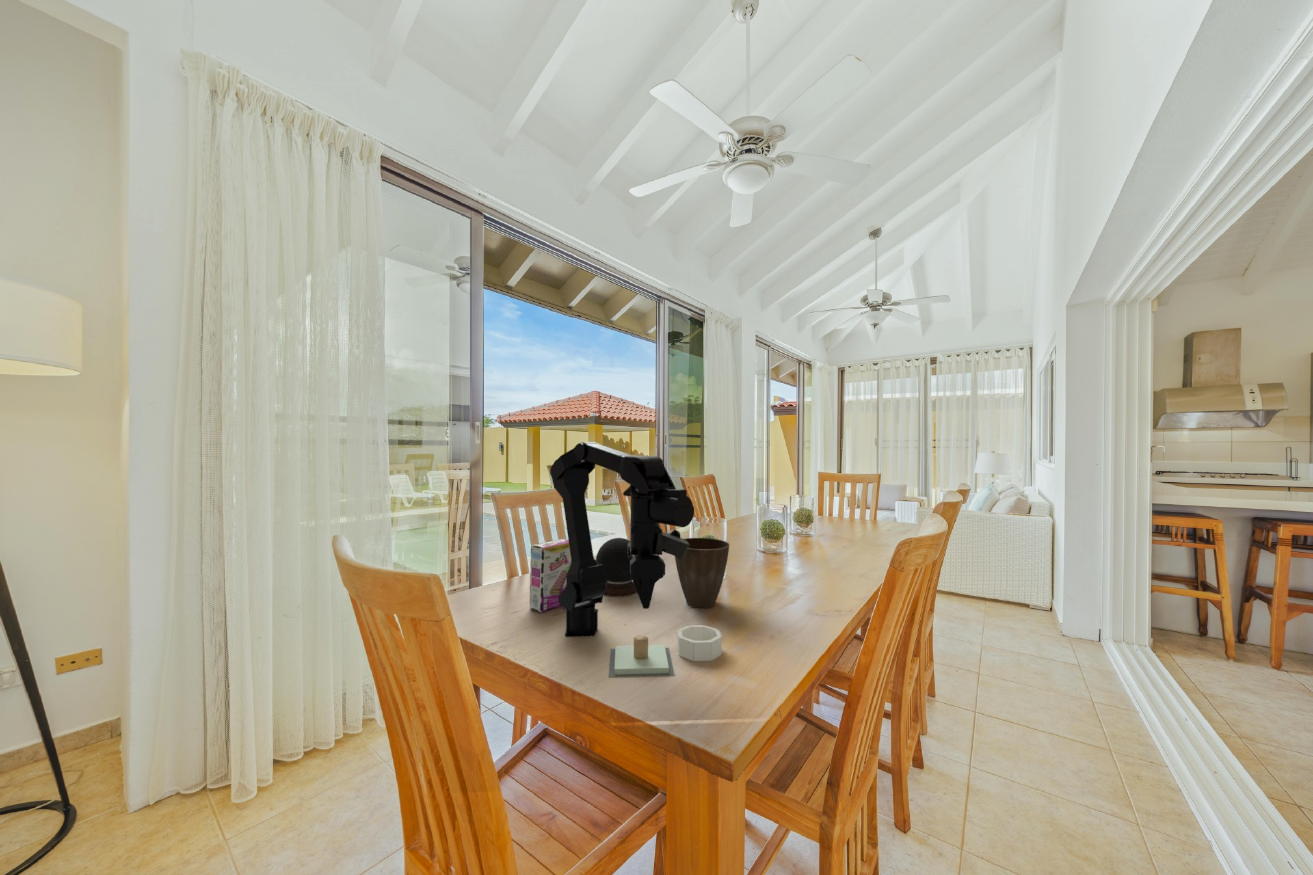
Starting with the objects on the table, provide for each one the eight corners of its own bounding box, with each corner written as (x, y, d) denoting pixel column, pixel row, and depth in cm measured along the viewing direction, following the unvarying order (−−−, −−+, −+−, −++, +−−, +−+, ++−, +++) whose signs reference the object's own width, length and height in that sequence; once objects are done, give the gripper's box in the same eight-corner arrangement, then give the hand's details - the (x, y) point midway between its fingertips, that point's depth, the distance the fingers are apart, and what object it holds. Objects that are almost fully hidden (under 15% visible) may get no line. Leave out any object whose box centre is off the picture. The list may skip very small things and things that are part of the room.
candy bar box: (542, 613, 122) (542, 547, 122) (529, 609, 125) (529, 545, 125) (574, 601, 131) (575, 540, 131) (561, 598, 134) (561, 538, 134)
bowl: (680, 663, 95) (680, 642, 95) (675, 644, 104) (676, 625, 104) (724, 662, 96) (724, 641, 96) (716, 643, 104) (716, 624, 104)
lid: (614, 674, 90) (614, 649, 90) (615, 650, 100) (615, 628, 100) (668, 673, 90) (668, 648, 90) (664, 649, 100) (664, 627, 100)
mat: (608, 679, 89) (608, 677, 89) (610, 650, 101) (610, 648, 101) (674, 677, 89) (674, 675, 89) (668, 649, 101) (668, 647, 101)
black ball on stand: (629, 581, 150) (629, 532, 150) (649, 593, 138) (649, 540, 138) (588, 587, 143) (589, 536, 143) (605, 600, 132) (606, 544, 132)
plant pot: (675, 593, 138) (676, 536, 139) (729, 595, 136) (729, 538, 136) (669, 611, 124) (670, 548, 124) (729, 614, 122) (729, 550, 122)
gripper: (693, 528, 87) (693, 616, 87) (679, 512, 106) (678, 585, 106) (631, 529, 86) (630, 618, 86) (627, 513, 105) (627, 586, 105)
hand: (644, 600), depth 96 cm, fingers open, 9 cm apart
